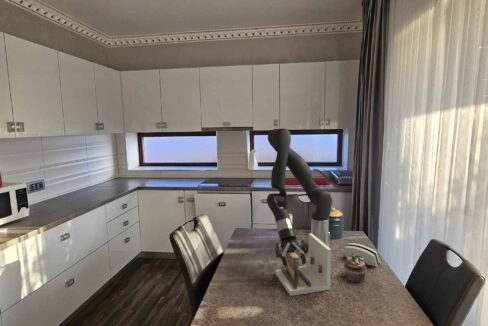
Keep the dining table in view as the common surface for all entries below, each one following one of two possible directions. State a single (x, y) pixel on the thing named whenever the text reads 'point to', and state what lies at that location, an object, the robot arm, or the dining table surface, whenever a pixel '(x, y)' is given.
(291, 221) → the white cup
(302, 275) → the l-shaped angle bracket
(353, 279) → the cupcake
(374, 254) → the white arched napkin holder
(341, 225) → the canister
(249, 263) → the dining table surface
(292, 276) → the wooden block
